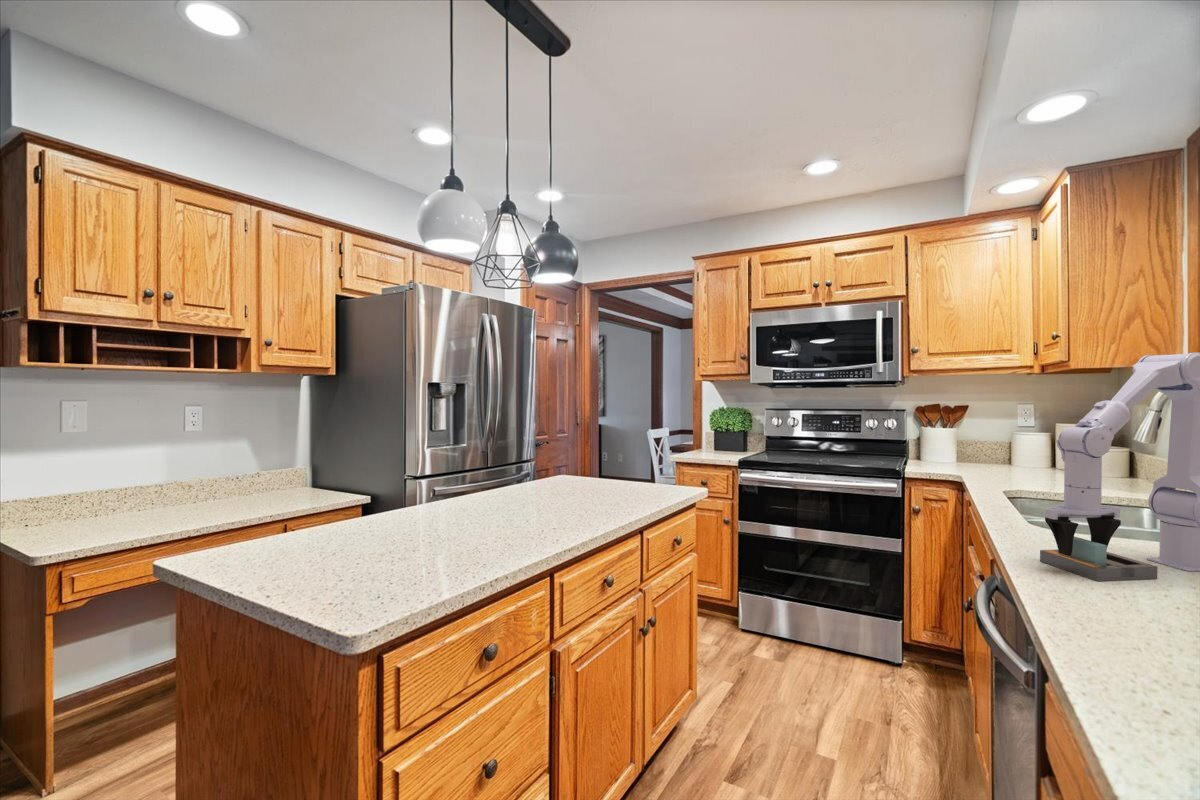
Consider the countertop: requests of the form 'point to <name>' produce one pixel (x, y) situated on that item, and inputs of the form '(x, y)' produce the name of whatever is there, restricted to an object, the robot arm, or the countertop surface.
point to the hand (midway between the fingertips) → (1081, 553)
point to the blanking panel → (1089, 551)
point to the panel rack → (1101, 567)
